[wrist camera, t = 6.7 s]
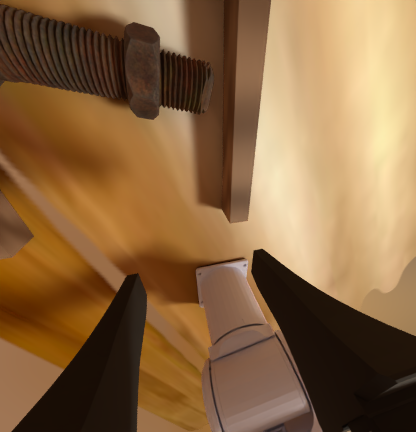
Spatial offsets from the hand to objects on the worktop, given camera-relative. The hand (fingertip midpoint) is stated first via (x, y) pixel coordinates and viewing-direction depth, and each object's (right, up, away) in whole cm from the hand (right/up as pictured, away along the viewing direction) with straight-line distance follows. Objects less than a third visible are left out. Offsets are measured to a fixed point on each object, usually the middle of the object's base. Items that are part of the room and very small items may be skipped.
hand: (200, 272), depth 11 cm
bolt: (-7, +14, +2) cm, 16 cm away
